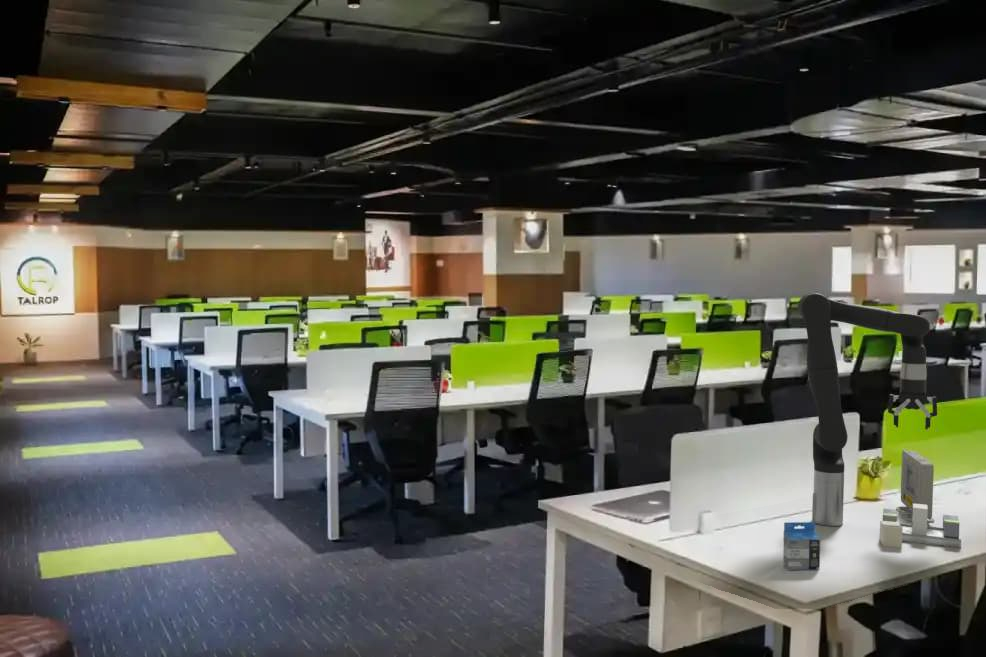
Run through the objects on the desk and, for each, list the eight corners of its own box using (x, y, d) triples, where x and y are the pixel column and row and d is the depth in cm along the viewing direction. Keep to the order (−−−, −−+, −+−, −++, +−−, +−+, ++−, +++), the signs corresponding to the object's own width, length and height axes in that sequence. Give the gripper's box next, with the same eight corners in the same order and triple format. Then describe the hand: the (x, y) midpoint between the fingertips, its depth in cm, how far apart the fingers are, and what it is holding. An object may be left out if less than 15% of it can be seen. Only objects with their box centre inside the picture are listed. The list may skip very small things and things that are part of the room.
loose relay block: (883, 546, 267) (884, 525, 267) (879, 540, 274) (880, 520, 274) (901, 547, 266) (902, 527, 266) (897, 541, 273) (898, 521, 273)
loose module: (912, 533, 275) (912, 507, 275) (911, 528, 280) (912, 503, 280) (926, 535, 273) (927, 509, 273) (926, 530, 279) (927, 504, 278)
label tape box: (788, 570, 243) (789, 525, 243) (782, 566, 247) (783, 521, 247) (819, 570, 244) (821, 525, 243) (813, 565, 248) (815, 521, 247)
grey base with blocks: (880, 538, 275) (880, 515, 275) (881, 528, 287) (881, 506, 287) (960, 547, 266) (961, 524, 266) (958, 536, 278) (959, 514, 278)
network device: (939, 525, 291) (941, 464, 290) (910, 524, 293) (912, 463, 292) (918, 506, 316) (920, 450, 315) (892, 505, 318) (893, 449, 317)
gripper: (888, 377, 286) (887, 428, 287) (938, 379, 280) (936, 431, 281) (889, 375, 293) (887, 424, 294) (937, 377, 287) (936, 428, 288)
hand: (911, 428), depth 287 cm, fingers open, 8 cm apart
